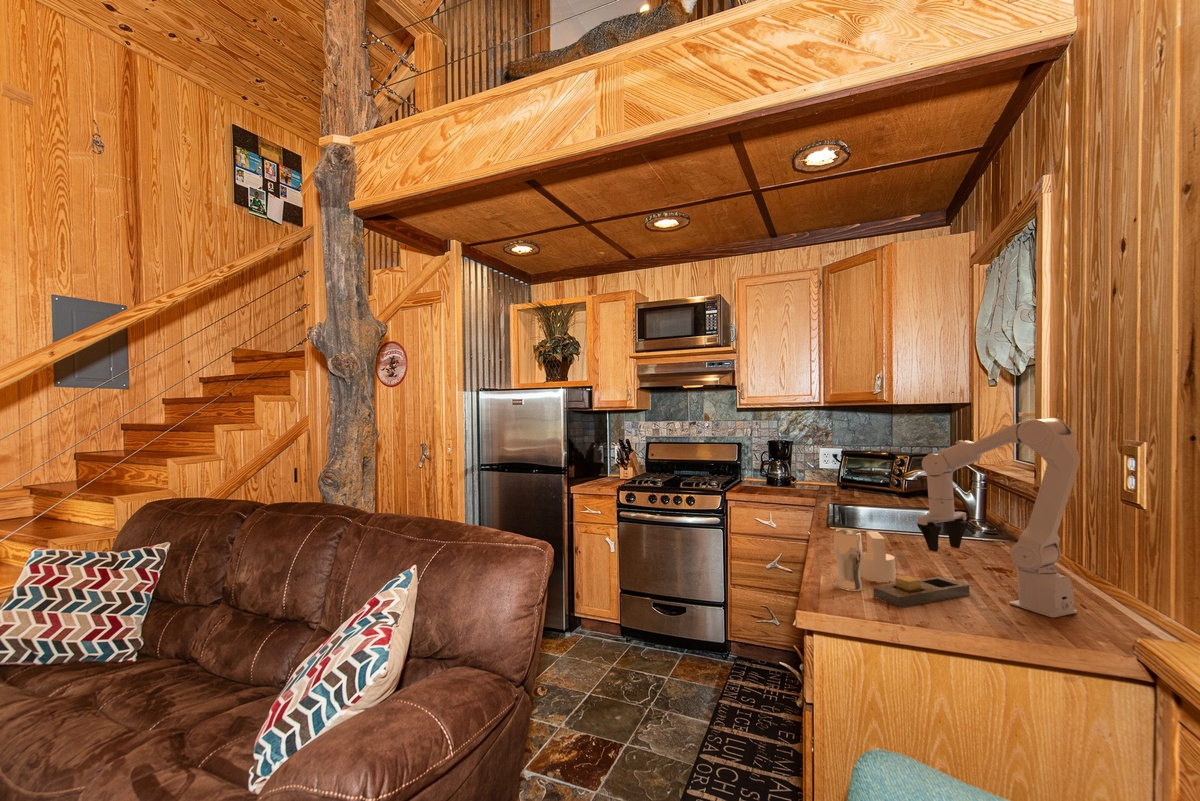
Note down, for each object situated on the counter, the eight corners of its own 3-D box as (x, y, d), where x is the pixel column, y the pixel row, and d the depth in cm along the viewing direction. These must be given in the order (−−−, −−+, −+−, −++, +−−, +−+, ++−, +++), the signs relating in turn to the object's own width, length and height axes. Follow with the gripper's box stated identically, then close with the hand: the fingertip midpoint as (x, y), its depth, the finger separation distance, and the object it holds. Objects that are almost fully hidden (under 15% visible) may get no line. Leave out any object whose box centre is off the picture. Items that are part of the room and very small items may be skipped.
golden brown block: (922, 600, 129) (921, 579, 129) (909, 602, 128) (908, 581, 128) (908, 595, 133) (907, 575, 133) (896, 597, 132) (895, 577, 132)
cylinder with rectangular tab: (899, 583, 142) (897, 538, 143) (863, 581, 145) (861, 538, 145) (891, 573, 151) (888, 531, 151) (857, 572, 153) (854, 531, 154)
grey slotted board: (940, 585, 139) (940, 576, 139) (969, 595, 131) (969, 585, 131) (873, 597, 132) (873, 587, 133) (900, 607, 125) (899, 597, 125)
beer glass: (830, 586, 142) (827, 530, 143) (850, 582, 145) (846, 527, 145) (850, 593, 136) (847, 535, 136) (871, 589, 138) (867, 532, 139)
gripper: (948, 494, 146) (951, 542, 146) (907, 498, 142) (910, 548, 141) (972, 497, 139) (975, 548, 139) (930, 502, 135) (933, 555, 135)
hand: (944, 549), depth 140 cm, fingers open, 7 cm apart
